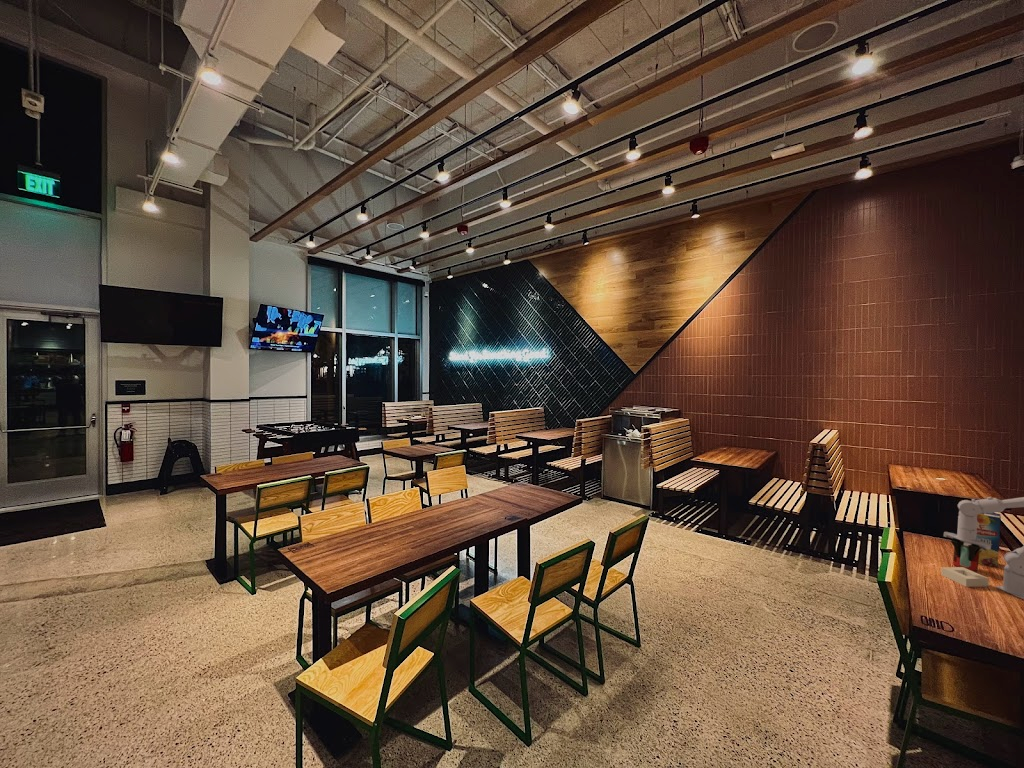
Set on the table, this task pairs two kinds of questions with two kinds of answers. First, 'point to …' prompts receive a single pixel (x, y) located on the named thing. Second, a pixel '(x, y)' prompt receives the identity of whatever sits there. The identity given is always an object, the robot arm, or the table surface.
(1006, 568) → the robot arm
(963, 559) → the peg
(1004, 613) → the table surface
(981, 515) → the juice carton
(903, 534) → the table surface
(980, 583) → the socket block
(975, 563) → the canned food
